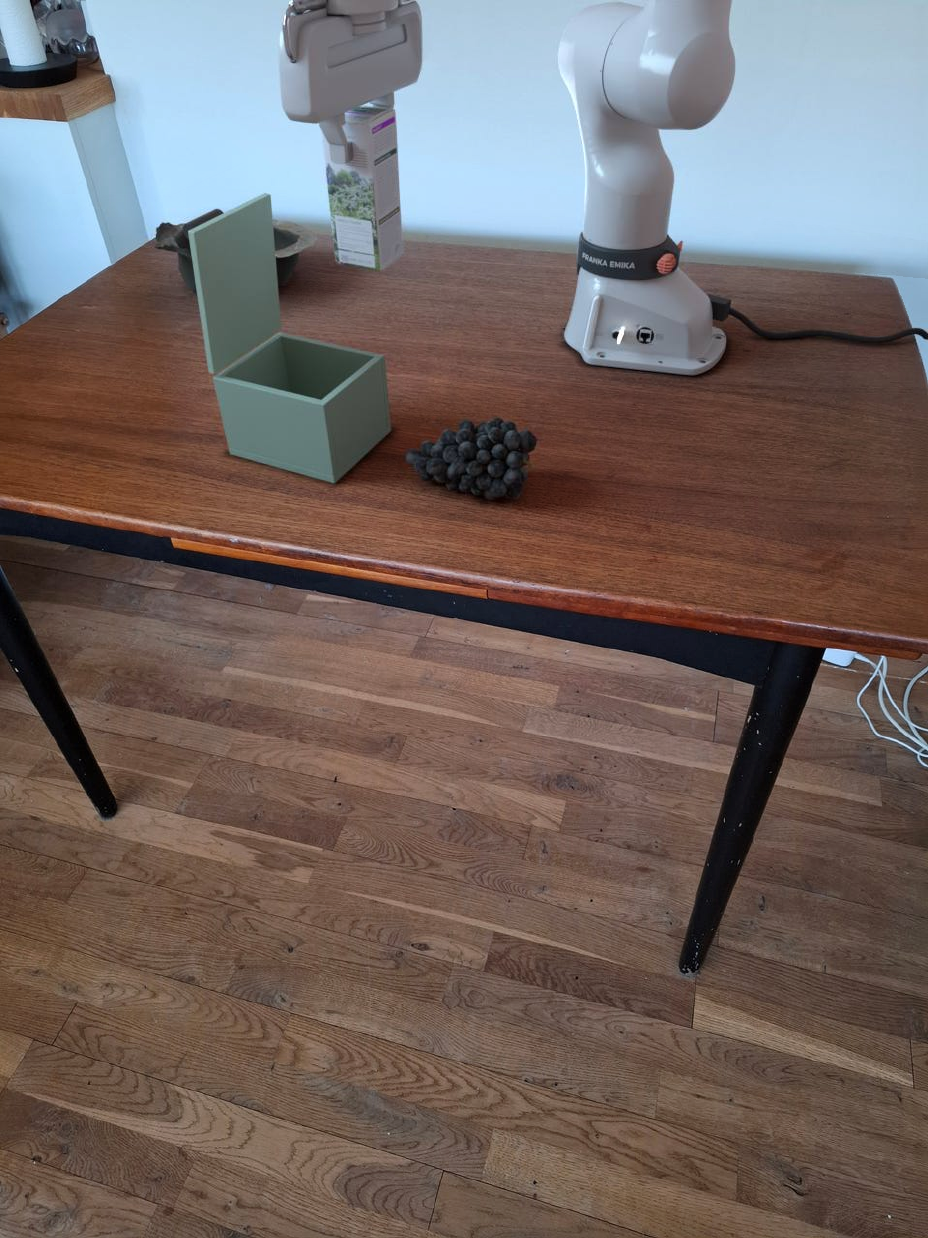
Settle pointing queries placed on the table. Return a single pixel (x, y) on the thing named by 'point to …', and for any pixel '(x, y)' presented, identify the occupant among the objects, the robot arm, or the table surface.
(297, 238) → the stone bowl
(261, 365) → the chest
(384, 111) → the syrup box
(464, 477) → the fruit
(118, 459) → the table surface
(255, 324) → the lid
